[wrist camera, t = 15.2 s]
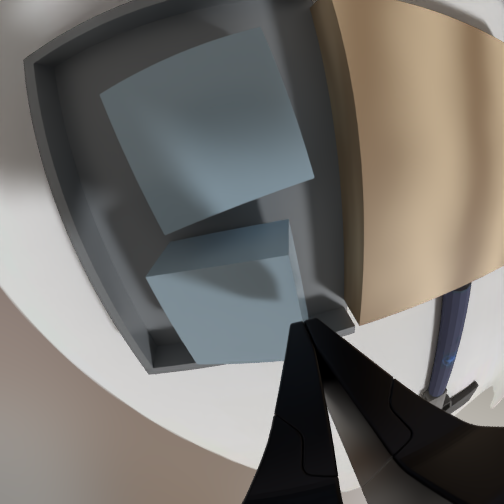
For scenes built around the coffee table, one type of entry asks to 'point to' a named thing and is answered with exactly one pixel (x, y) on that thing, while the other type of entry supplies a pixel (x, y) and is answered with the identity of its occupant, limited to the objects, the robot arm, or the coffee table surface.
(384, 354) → the coffee table surface
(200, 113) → the tile near
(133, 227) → the tray
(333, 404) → the robot arm
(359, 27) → the oak board
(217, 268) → the tile far
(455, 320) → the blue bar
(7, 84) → the coffee table surface
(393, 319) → the coffee table surface
